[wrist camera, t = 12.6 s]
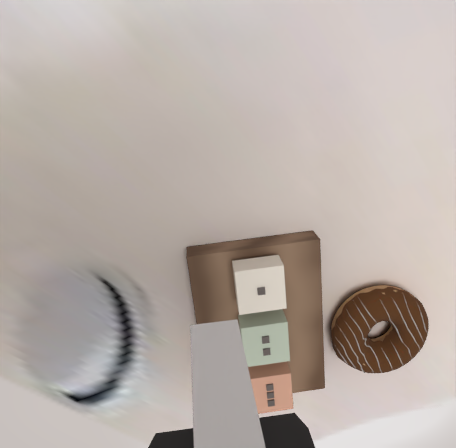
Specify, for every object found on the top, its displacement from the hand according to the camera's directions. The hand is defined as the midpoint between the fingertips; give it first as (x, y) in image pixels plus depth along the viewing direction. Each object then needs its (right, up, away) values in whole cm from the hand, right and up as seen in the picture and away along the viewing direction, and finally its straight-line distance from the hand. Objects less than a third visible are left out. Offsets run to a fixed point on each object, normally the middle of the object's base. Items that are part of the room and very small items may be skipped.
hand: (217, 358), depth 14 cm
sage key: (+4, -7, +29) cm, 30 cm away
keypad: (+4, -6, +32) cm, 33 cm away
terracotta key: (+4, -12, +31) cm, 34 cm away
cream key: (+3, -1, +27) cm, 27 cm away
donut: (+17, -7, +34) cm, 38 cm away
